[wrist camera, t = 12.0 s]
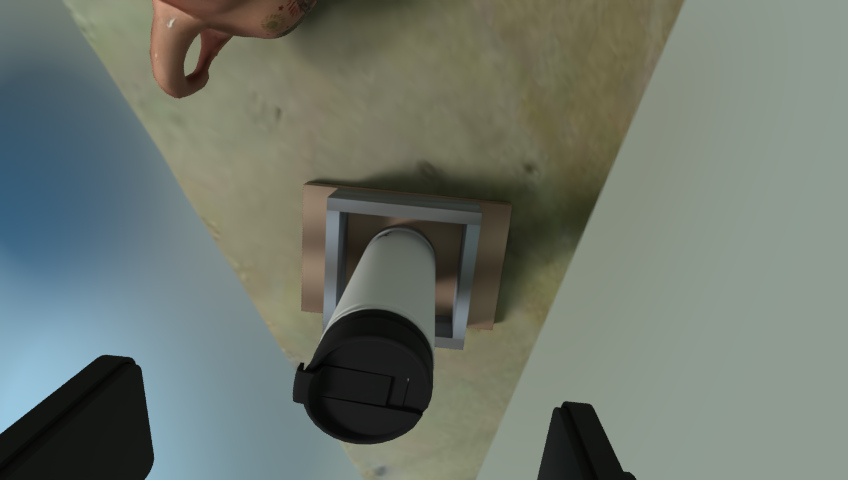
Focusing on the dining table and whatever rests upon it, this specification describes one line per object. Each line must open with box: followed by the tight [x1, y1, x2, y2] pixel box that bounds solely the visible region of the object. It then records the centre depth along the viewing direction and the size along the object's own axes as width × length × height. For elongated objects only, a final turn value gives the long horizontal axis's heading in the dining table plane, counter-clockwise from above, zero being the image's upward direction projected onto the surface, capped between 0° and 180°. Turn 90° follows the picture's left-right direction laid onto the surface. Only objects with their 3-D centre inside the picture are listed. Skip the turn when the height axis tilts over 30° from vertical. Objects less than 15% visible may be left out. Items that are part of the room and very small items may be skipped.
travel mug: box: [293, 225, 436, 444], centre depth 30 cm, size 6×7×20 cm
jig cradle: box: [301, 182, 512, 350], centre depth 38 cm, size 12×18×5 cm, turn 84°
